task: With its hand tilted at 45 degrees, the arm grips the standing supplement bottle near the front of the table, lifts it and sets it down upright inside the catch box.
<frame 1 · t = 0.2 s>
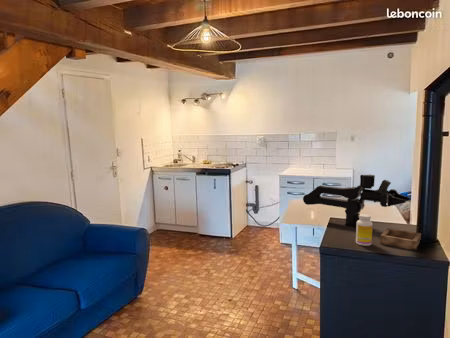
hand: (407, 200, 168), 17 cm above the countertop, tool horizontal, fingers open, 9 cm apart
catch box: (400, 242, 157), on the countertop
supplement bottle: (363, 244, 155), on the countertop
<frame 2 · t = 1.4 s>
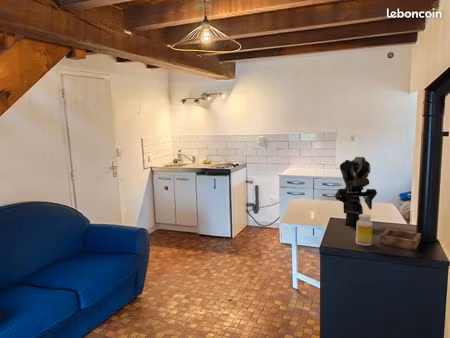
hand: (361, 209, 161), 14 cm above the countertop, tool tilted 45°, fingers open, 9 cm apart
nothing on the countertop moved.
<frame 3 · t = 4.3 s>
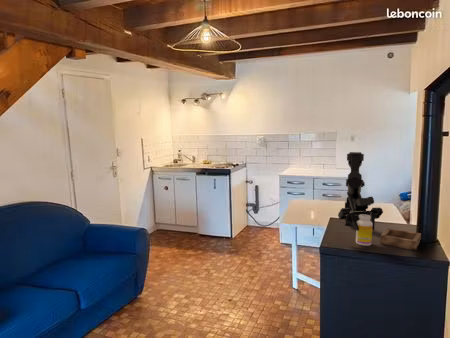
hand: (365, 230, 153), 7 cm above the countertop, tool tilted 45°, fingers closed on supplement bottle, 7 cm apart
supplement bottle: (363, 244, 155), on the countertop, touching gripper
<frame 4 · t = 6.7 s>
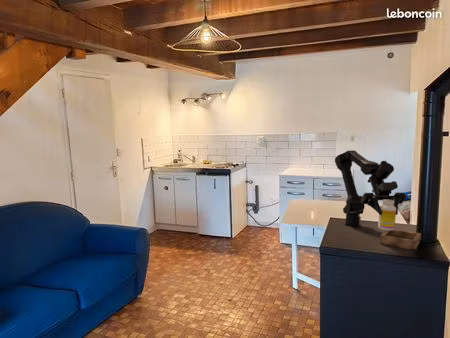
hand: (389, 214, 153), 13 cm above the countertop, tool tilted 45°, fingers closed on supplement bottle, 7 cm apart
supplement bottle: (386, 229, 155), point 6 cm above the countertop, touching gripper
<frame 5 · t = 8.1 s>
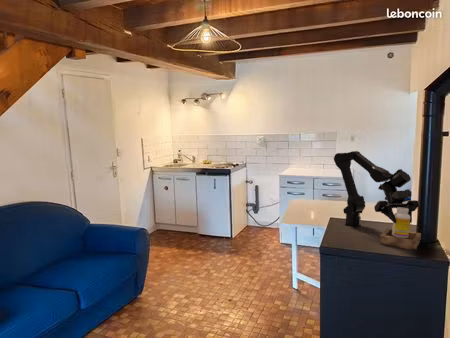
hand: (403, 222, 154), 10 cm above the countertop, tool tilted 45°, fingers closed on supplement bottle, 7 cm apart
supplement bottle: (399, 236, 156), point 3 cm above the countertop, touching gripper
when the fingers open (9 cm above the countertop, at t = 9.3 s): supplement bottle stays where it is, resting on catch box.
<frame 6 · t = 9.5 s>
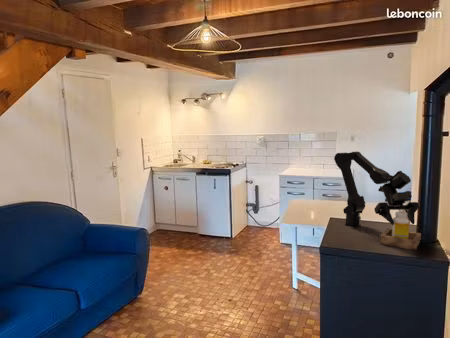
hand: (403, 224, 154), 9 cm above the countertop, tool tilted 45°, fingers open, 9 cm apart
supplement bottle: (399, 241, 157), point 1 cm above the countertop, touching catch box
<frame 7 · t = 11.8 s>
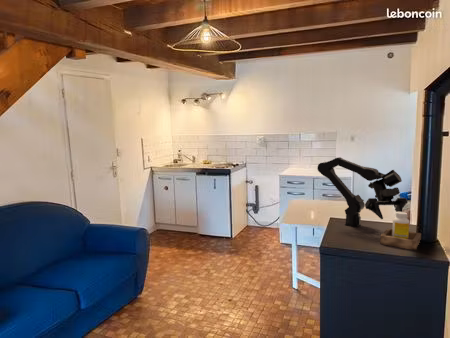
hand: (391, 218, 163), 9 cm above the countertop, tool tilted 45°, fingers open, 9 cm apart
nothing on the countertop moved.
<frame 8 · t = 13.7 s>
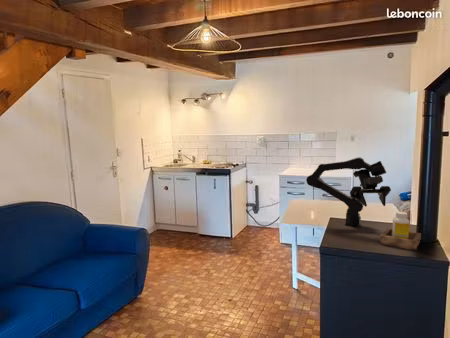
hand: (375, 205, 169), 14 cm above the countertop, tool tilted 45°, fingers open, 9 cm apart
nothing on the countertop moved.
at the end: supplement bottle inside the target area on the catch box (0.3 cm from its centre), point 0.6 cm above the catch box's base; supplement bottle tilted 0°; the gripper is holding nothing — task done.
